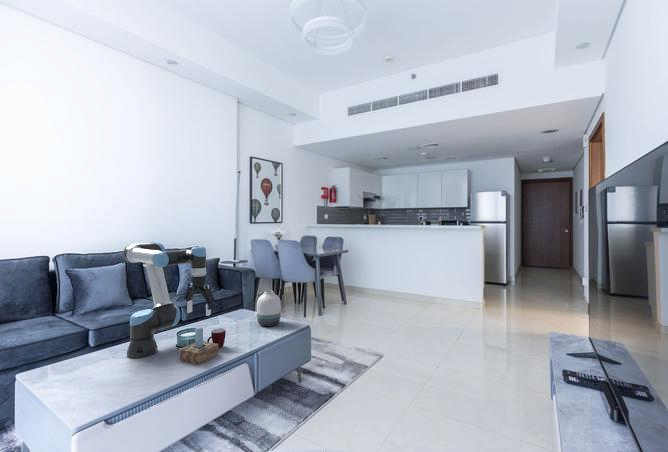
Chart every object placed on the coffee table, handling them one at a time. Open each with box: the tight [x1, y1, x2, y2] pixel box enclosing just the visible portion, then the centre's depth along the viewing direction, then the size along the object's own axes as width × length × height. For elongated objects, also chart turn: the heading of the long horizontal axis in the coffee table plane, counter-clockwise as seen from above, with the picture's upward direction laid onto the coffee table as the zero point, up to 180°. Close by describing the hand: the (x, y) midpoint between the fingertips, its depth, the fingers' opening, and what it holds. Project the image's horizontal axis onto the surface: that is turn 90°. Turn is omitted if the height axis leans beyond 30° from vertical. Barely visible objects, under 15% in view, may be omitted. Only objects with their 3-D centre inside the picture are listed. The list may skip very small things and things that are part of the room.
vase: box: [256, 290, 282, 327], centre depth 234 cm, size 17×17×24 cm
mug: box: [206, 327, 227, 349], centre depth 191 cm, size 11×8×10 cm
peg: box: [194, 326, 204, 349], centre depth 177 cm, size 4×4×16 cm
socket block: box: [179, 340, 220, 366], centre depth 178 cm, size 14×14×6 cm
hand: (199, 313), depth 177 cm, fingers open, 13 cm apart
